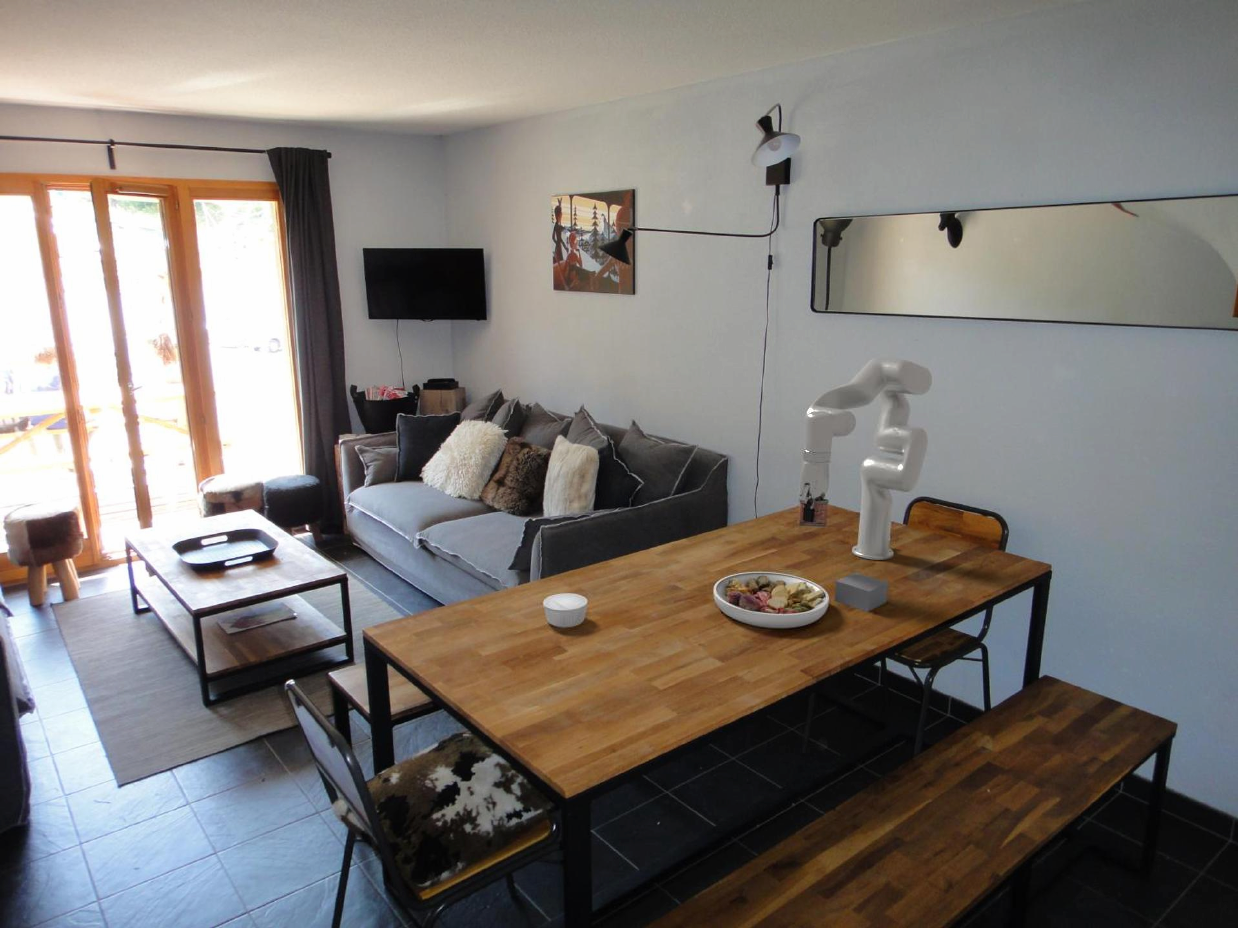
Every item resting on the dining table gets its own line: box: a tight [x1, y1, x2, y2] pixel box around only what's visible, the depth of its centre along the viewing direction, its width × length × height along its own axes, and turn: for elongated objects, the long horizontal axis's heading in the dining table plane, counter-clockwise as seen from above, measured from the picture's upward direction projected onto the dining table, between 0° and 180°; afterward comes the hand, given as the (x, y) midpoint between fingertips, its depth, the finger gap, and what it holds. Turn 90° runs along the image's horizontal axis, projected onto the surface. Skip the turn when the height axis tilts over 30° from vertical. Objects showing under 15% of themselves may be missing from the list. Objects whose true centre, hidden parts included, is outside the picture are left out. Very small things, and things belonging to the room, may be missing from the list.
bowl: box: [713, 571, 830, 629], centre depth 222 cm, size 30×30×8 cm
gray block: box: [834, 571, 889, 613], centre depth 228 cm, size 10×10×6 cm
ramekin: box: [542, 592, 589, 628], centre depth 213 cm, size 11×11×5 cm
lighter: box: [797, 493, 829, 528], centre depth 237 cm, size 8×3×10 cm, turn 82°
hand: (812, 518), depth 237 cm, fingers closed on lighter, 4 cm apart
